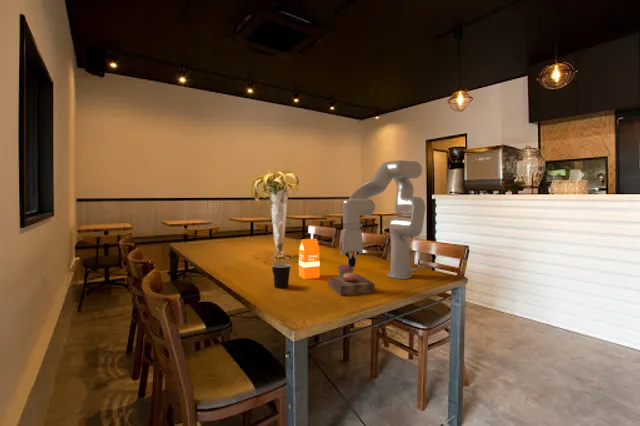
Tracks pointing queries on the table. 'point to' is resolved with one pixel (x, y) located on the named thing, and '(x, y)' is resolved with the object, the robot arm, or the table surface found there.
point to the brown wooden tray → (351, 286)
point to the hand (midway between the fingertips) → (351, 266)
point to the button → (350, 276)
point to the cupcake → (345, 269)
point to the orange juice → (309, 259)
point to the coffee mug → (281, 275)
